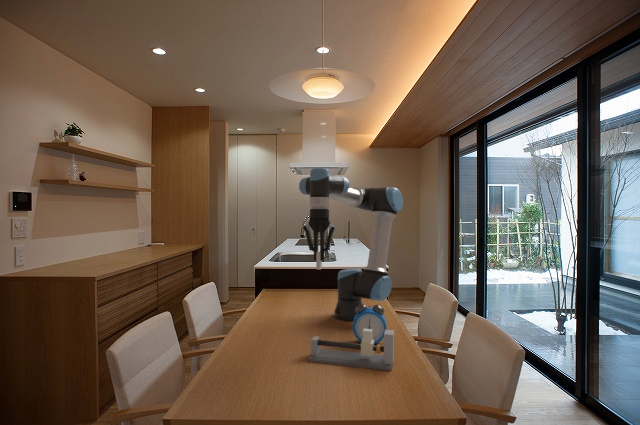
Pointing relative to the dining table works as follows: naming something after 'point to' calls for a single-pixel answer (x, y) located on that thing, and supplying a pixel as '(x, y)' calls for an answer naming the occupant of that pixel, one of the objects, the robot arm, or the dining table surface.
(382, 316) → the alarm clock
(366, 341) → the sleeve
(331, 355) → the slider rail fixture
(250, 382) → the dining table surface
